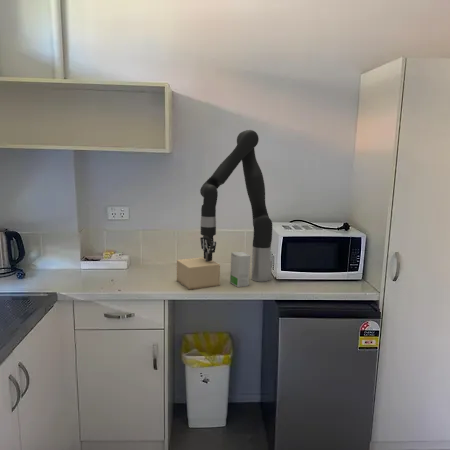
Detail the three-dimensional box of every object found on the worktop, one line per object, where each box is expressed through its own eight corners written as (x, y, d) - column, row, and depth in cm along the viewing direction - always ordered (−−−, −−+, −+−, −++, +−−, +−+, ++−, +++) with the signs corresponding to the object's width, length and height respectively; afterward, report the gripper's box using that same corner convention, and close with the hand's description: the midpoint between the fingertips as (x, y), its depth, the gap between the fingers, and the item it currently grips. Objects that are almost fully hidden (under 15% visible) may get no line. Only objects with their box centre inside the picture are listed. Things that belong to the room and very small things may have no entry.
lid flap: (205, 258, 210) (205, 248, 210) (219, 265, 197) (219, 255, 196) (176, 261, 203) (176, 251, 202) (189, 269, 189) (189, 258, 188)
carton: (205, 276, 212) (206, 258, 211) (219, 285, 198) (220, 265, 197) (176, 280, 205) (176, 261, 203) (189, 289, 191) (189, 269, 189)
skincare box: (229, 282, 203) (230, 252, 201) (241, 281, 206) (242, 250, 204) (238, 287, 196) (238, 255, 193) (249, 285, 199) (250, 254, 196)
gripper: (221, 227, 195) (221, 262, 198) (209, 222, 207) (208, 255, 210) (207, 228, 191) (207, 263, 194) (195, 223, 204) (195, 257, 207)
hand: (207, 259), depth 202 cm, fingers closed on lid flap, 4 cm apart
